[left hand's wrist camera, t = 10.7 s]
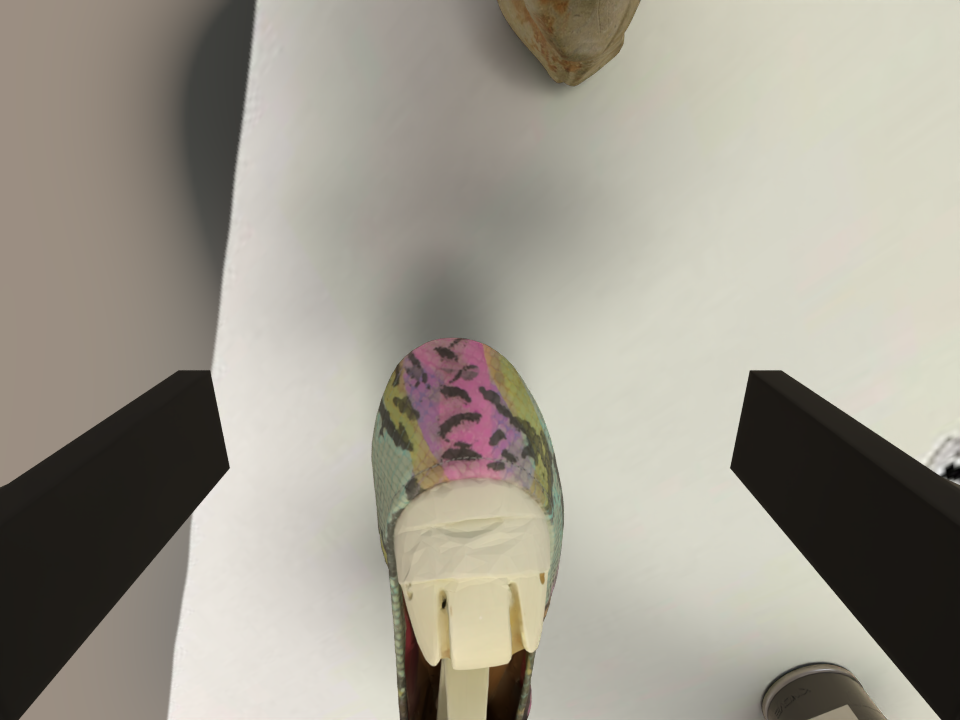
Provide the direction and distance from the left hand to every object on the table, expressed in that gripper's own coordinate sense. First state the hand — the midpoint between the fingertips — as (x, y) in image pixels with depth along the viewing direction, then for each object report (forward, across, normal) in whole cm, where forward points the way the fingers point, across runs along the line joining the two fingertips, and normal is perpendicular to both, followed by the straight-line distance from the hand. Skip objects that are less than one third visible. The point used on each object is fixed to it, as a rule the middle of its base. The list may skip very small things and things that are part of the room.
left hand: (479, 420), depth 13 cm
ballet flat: (+10, 0, -13) cm, 16 cm away
